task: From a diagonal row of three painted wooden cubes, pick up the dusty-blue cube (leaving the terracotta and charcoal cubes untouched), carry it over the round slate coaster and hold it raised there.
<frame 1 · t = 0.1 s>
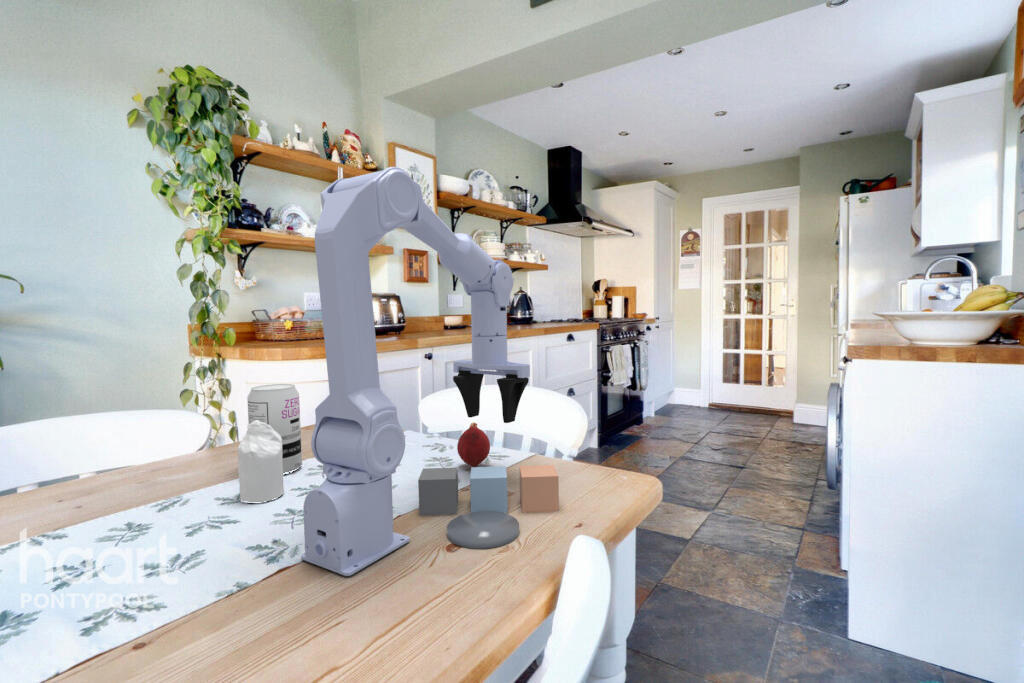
hand: (490, 419, 80), 10 cm above the table, tool pointing down, fingers open, 7 cm apart
terracotta cube: (538, 505, 70), on the table
slate coaster: (483, 531, 62), on the table
white soda can: (277, 471, 88), on the table
blue cube: (489, 506, 70), on the table
onion: (474, 468, 88), on the table
grey crumpled-top cylinder: (262, 498, 75), on the table
charcoal cube: (439, 508, 70), on the table
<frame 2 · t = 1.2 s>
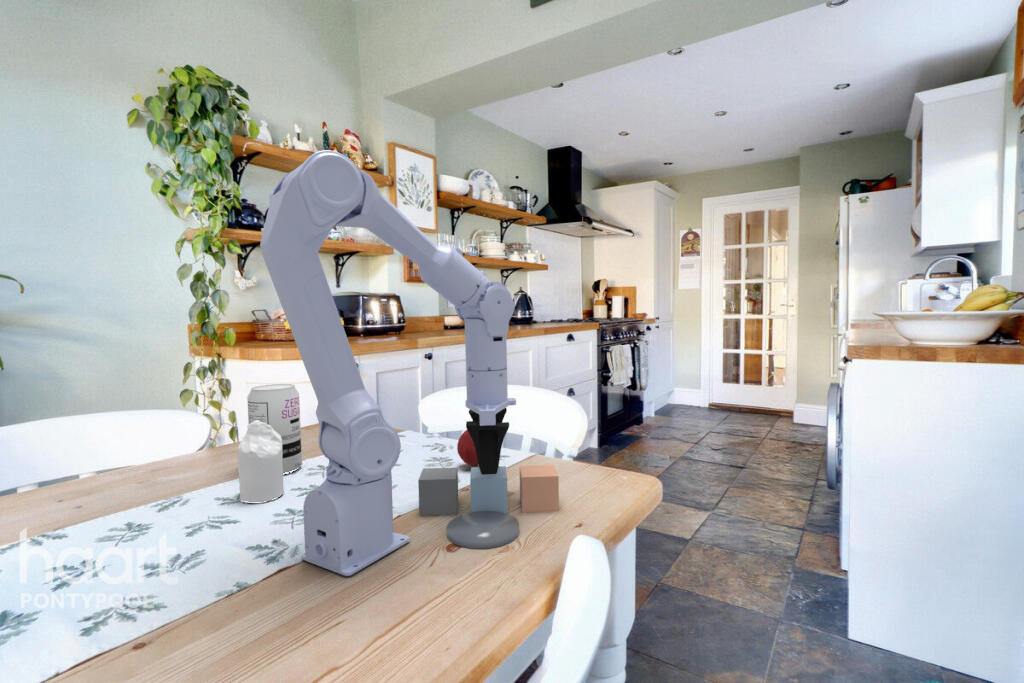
hand: (488, 464, 70), 6 cm above the table, tool pointing down, fingers open, 7 cm apart
nothing on the table moved.
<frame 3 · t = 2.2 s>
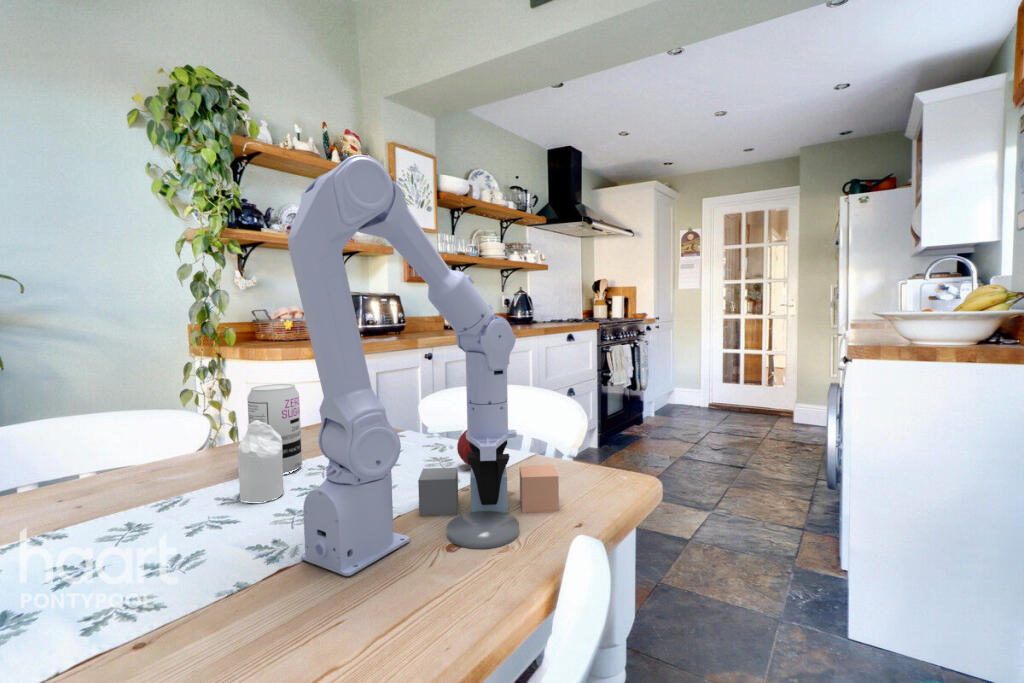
hand: (489, 496, 70), 1 cm above the table, tool pointing down, fingers closed on blue cube, 5 cm apart
blue cube: (489, 506, 70), on the table, touching gripper
everything else where it was.
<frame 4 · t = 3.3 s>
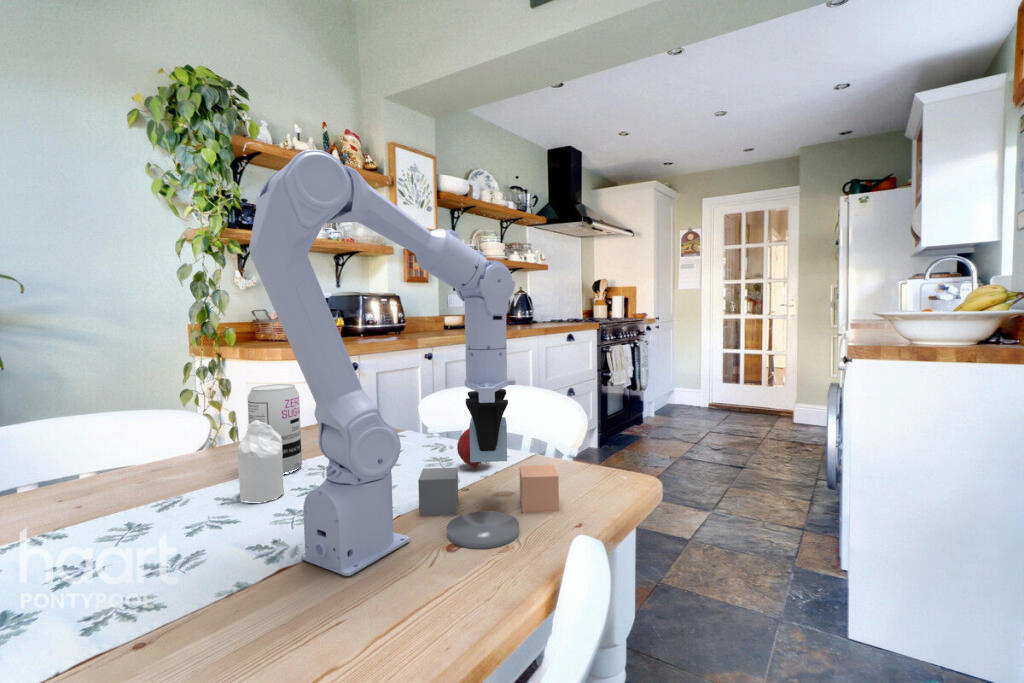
hand: (487, 444, 69), 9 cm above the table, tool pointing down, fingers closed on blue cube, 5 cm apart
blue cube: (488, 456, 70), point 7 cm above the table, touching gripper
everything else where it was.
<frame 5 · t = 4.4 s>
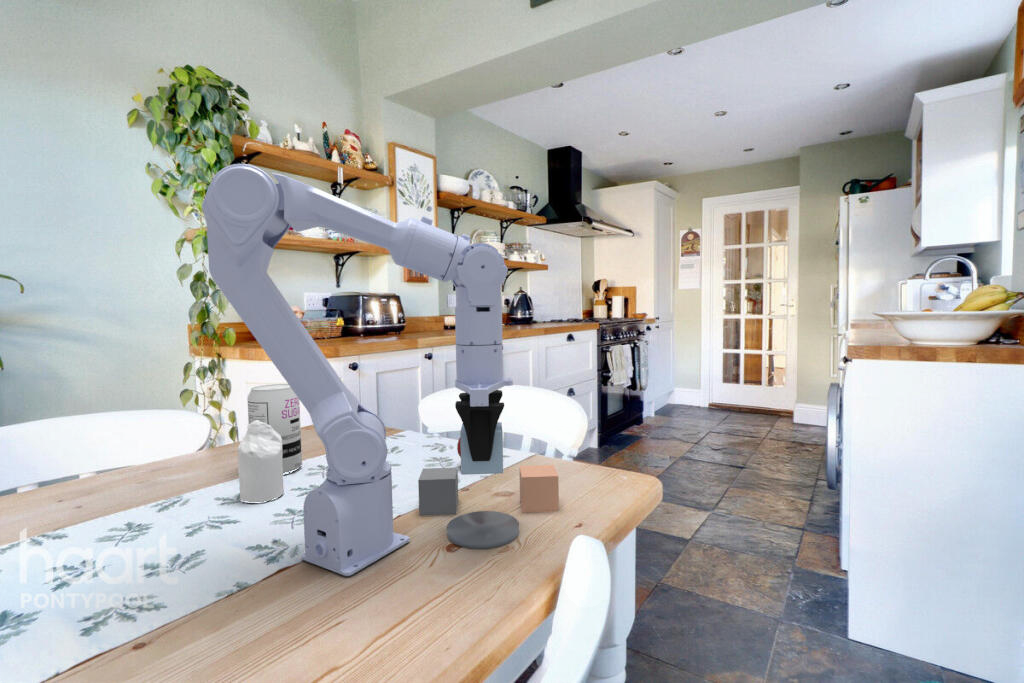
hand: (481, 453, 61), 10 cm above the table, tool pointing down, fingers closed on blue cube, 5 cm apart
blue cube: (482, 467, 61), point 8 cm above the table, touching gripper
everything else where it was.
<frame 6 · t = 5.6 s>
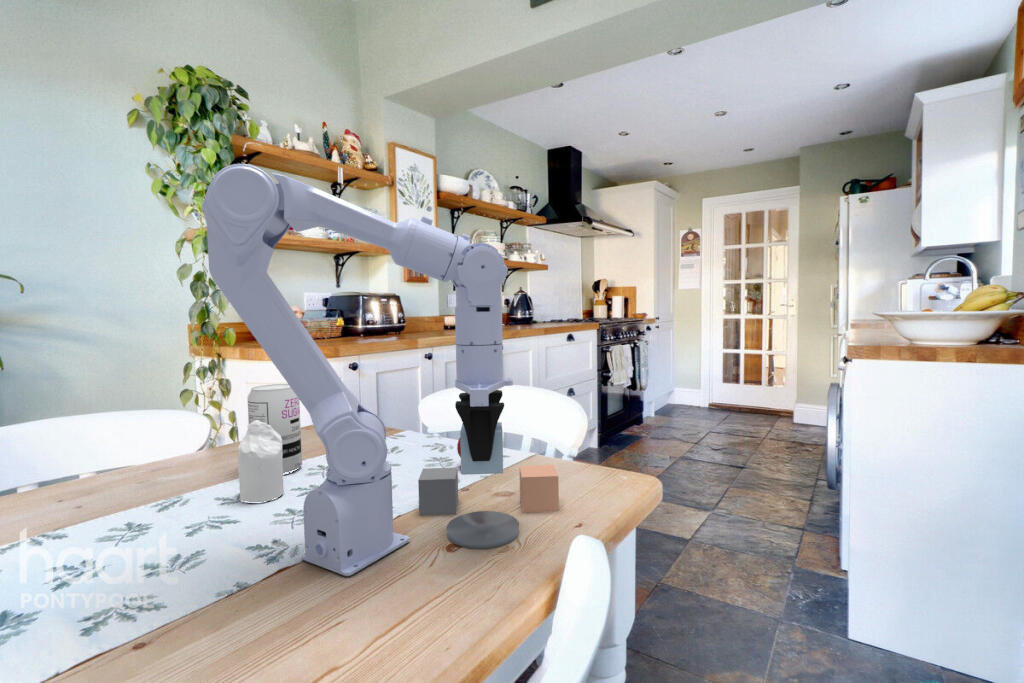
hand: (481, 453, 61), 10 cm above the table, tool pointing down, fingers closed on blue cube, 5 cm apart
blue cube: (482, 467, 61), point 8 cm above the table, touching gripper
everything else where it was.
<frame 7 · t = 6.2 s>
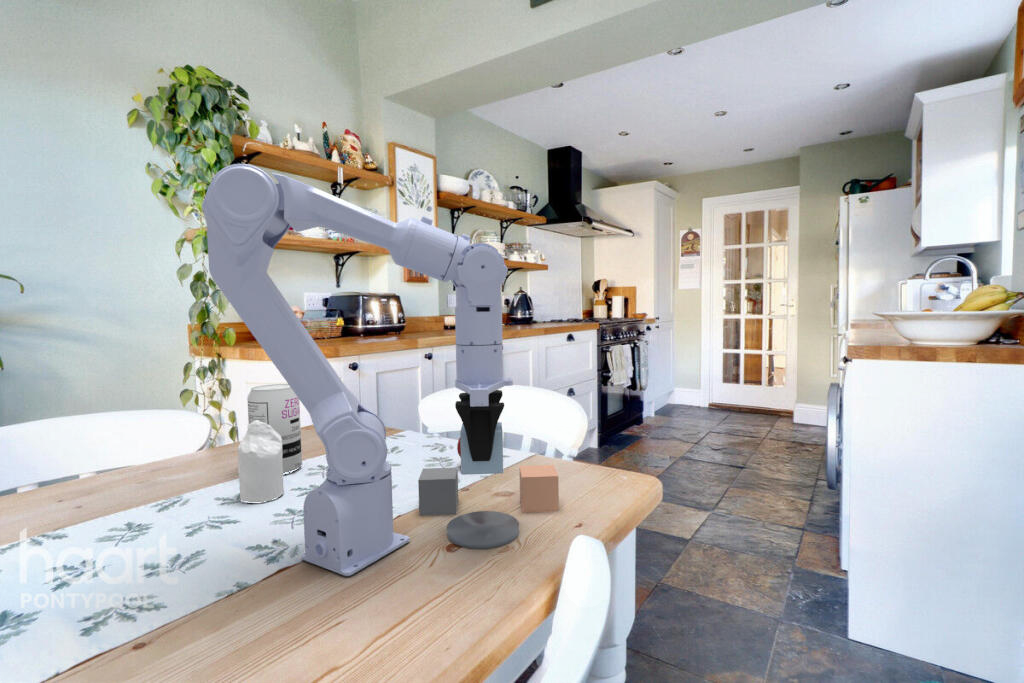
hand: (481, 453, 61), 10 cm above the table, tool pointing down, fingers closed on blue cube, 5 cm apart
blue cube: (482, 467, 61), point 8 cm above the table, touching gripper
everything else where it was.
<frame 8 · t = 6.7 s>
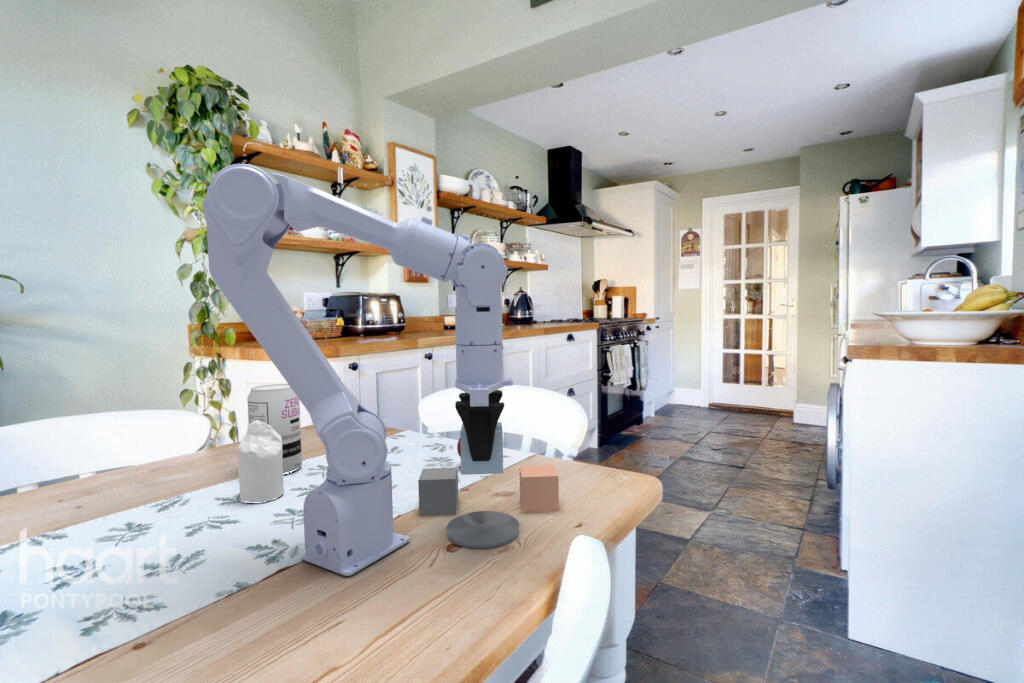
hand: (481, 453, 61), 10 cm above the table, tool pointing down, fingers closed on blue cube, 5 cm apart
blue cube: (482, 467, 61), point 8 cm above the table, touching gripper
everything else where it was.
at the end: the gripper is holding blue cube; blue cube inside the target area on the slate coaster (0.1 cm from its centre), point 8.2 cm above the slate coaster's base; charcoal cube moved 0.1 cm from its start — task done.
